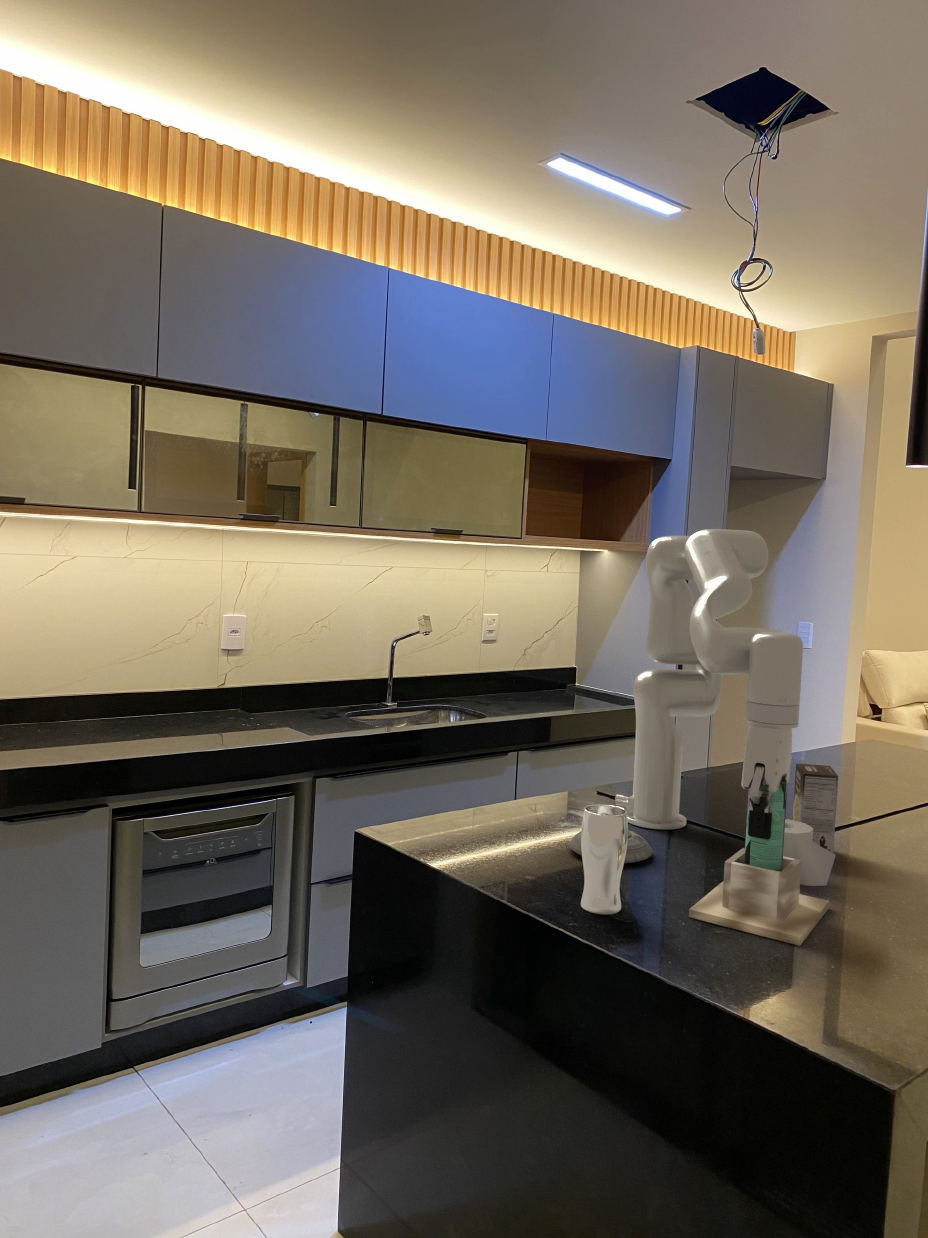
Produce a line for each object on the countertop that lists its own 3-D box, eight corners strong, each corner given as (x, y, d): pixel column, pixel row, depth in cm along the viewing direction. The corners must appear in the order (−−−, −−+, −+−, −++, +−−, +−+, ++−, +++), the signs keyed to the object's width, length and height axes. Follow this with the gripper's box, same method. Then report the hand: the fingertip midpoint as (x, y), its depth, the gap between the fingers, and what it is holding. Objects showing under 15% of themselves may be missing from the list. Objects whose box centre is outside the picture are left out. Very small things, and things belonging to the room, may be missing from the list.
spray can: (784, 885, 138) (792, 756, 136) (775, 895, 133) (784, 762, 132) (748, 878, 140) (756, 751, 139) (738, 887, 136) (746, 756, 135)
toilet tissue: (838, 889, 149) (841, 838, 149) (754, 879, 152) (757, 829, 152) (829, 871, 158) (832, 823, 158) (750, 863, 161) (753, 815, 160)
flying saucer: (667, 856, 164) (668, 826, 163) (625, 875, 152) (627, 844, 152) (596, 837, 173) (597, 809, 173) (552, 854, 162) (554, 824, 161)
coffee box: (789, 844, 173) (794, 762, 172) (824, 848, 172) (830, 765, 171) (797, 859, 164) (802, 772, 163) (834, 863, 163) (840, 775, 162)
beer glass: (613, 919, 132) (618, 818, 131) (570, 908, 135) (574, 810, 134) (630, 905, 138) (636, 809, 137) (589, 895, 141) (593, 801, 140)
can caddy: (688, 917, 134) (691, 864, 133) (727, 884, 149) (729, 837, 148) (799, 945, 125) (803, 889, 125) (828, 908, 140) (832, 858, 139)
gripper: (763, 705, 144) (756, 817, 145) (729, 718, 130) (722, 841, 131) (811, 711, 140) (804, 826, 141) (782, 724, 126) (774, 851, 127)
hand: (765, 832), depth 136 cm, fingers closed on spray can, 5 cm apart
